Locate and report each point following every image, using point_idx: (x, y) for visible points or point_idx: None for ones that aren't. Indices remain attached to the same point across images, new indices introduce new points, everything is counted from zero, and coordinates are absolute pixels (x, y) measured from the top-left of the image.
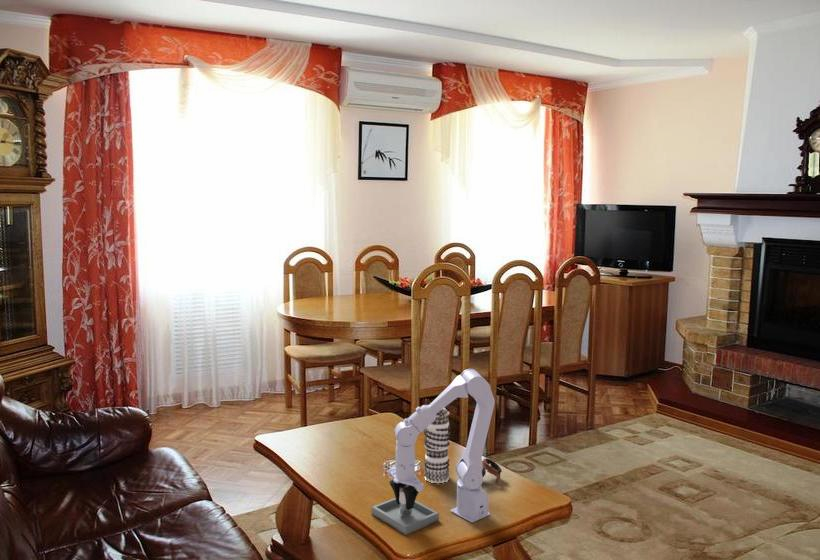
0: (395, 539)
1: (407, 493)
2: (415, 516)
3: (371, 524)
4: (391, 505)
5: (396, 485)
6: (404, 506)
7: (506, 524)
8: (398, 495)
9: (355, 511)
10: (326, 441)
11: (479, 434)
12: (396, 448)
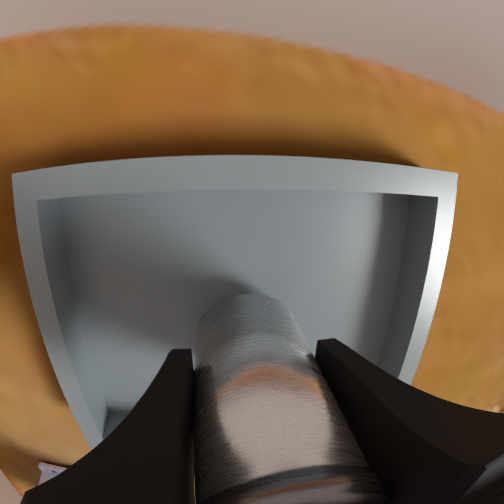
0: (47, 79)
1: (43, 491)
2: None
3: (326, 67)
4: (396, 320)
5: (426, 482)
6: (215, 352)
7: (15, 486)
8: (352, 399)
9: (485, 130)
10: None
11: None
12: None
